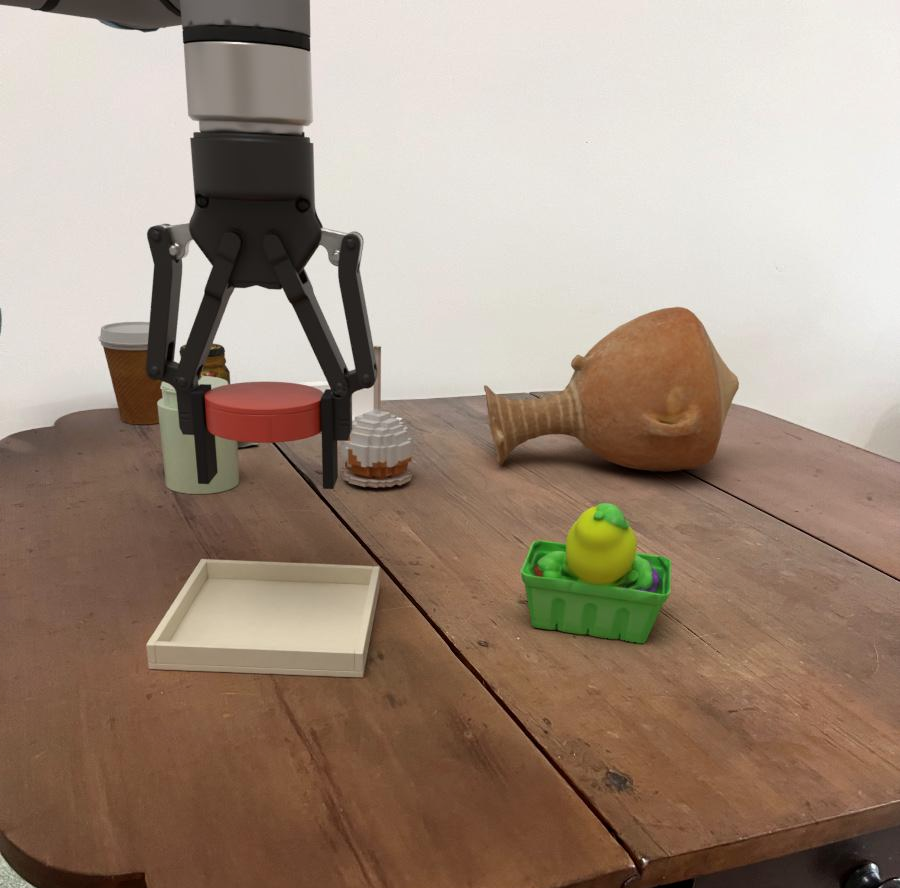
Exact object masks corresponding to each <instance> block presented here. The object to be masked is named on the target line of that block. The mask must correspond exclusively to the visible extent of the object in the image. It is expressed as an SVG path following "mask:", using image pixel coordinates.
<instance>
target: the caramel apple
mask: <svg viewBox="0 0 900 888" xmlns="http://www.w3.org/2000/svg"><path fill="white" fill-rule="evenodd" d="M373 347H374V353H375V358H376V364H377V369H378V375H377V378H376V381H375V383H374V410H372V411H369V412H366V413H363V414H362V415H359V416H356V417H355V420H352V431H351V433H350V436H349V438H348V441H342V443H341V447H340V457H341V459H342V461H343V462H344V466H343V467H342V470H341V471H340V475H341V477H342V479H343V481H346V482H348V484H351V485H355V486H360V487H363V488H366V487H369V488H373V489H375V488H376V489H377V488H392V487H394V486H395V485H397V486H402V485H403V484H404V485H405V484H406V483H408V482H410V481H412V477H413V471H412V470H411V469H410V467H409V463H410V462H412V459H413V455H414V451H413V450H414V439H413V438H412V436H411V435H410V428H409V427H408V426H407V425H406V422H405V421H401V420H400V421H399V419H396V418H397V415H395V414H392V412H388V411H383V410H381V408H382V407H381V402H382V401H381V400H382V399H381V398H382V395H381V393H382V345H373Z"/></svg>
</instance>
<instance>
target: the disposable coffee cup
mask: <svg viewBox="0 0 900 888" xmlns="http://www.w3.org/2000/svg"><path fill="white" fill-rule="evenodd" d="M149 323H150V321H123V322H122V321H121V322H114V323H113V322H111V323H107V324H104V325H102V326H100V335H99V336H98V337H97V339H98V341H99V342H100V345H101V347H102V348H103V351H104V355H105V356H104V357H105V360H106V363H107V368H108V371H109V376H110V381H111V384H112V388H113V392H114V395H115V400H116V404H117V405H116V406H117V407H118V412H119V417H120V420H121V421H122V422H123V423H126V424H132V425H155V424H159V417H158V406H157V402H158V401H159V400H160V399H162V398H163V397H162V389H161V388H160V387H161V383H162V382H163V381H161V380H152V379H150V378H149V377H148V376H147V374H146V360H147V348H148V335H149Z"/></svg>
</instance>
